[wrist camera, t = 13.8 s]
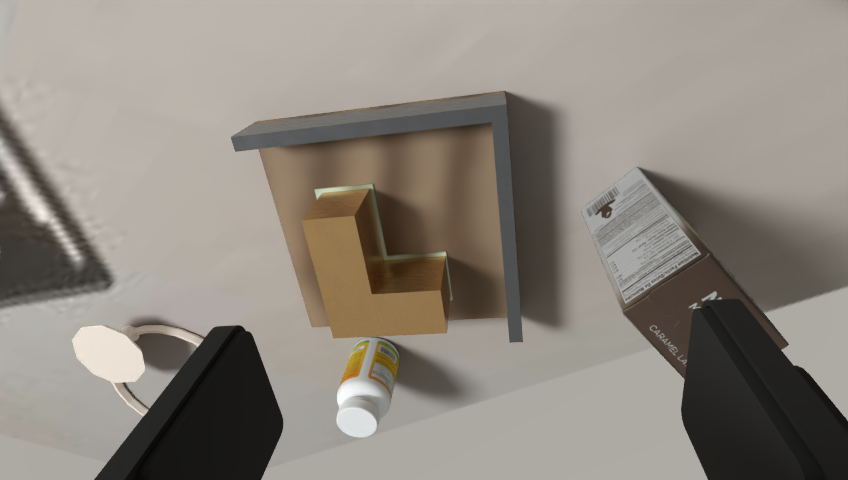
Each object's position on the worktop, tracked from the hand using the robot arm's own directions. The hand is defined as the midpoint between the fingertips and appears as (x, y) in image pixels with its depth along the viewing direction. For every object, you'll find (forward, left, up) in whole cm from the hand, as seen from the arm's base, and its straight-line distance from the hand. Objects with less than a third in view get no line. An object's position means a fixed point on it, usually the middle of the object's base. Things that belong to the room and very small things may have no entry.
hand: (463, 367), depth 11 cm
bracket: (+10, +14, -33) cm, 37 cm away
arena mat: (+9, +12, -34) cm, 37 cm away
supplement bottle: (+14, +28, -34) cm, 47 cm away
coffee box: (-13, +14, -34) cm, 39 cm away
